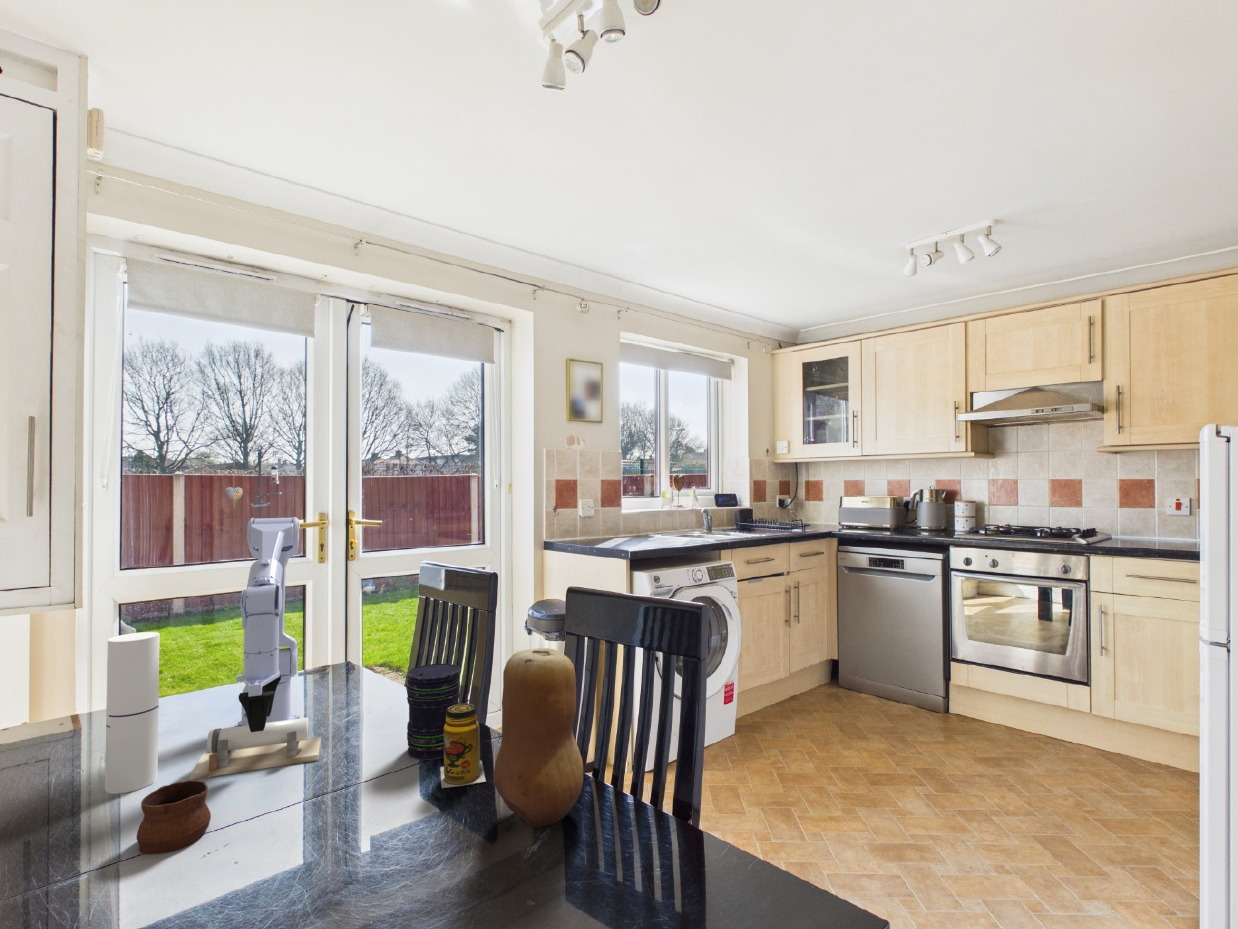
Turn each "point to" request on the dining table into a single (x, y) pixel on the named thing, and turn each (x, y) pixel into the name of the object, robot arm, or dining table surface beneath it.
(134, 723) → the cylindrical container
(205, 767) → the tube stand
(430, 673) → the storage jar
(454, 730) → the condiment
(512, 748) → the butternut squash
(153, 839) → the ceramic pot
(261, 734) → the tube
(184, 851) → the dining table surface
